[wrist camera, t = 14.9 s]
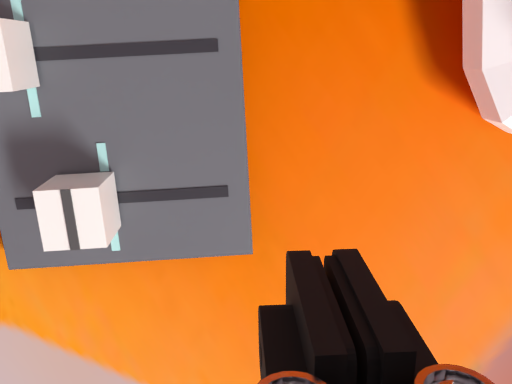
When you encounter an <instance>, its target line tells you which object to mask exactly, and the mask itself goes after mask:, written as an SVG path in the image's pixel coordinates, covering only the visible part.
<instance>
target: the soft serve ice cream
mask: <svg viewBox="0 0 512 384" xmlns="http://www.w3.org/2000/svg"><path fill="white" fill-rule="evenodd" d="M462 35H463V70H464V72H465V75H466V78H467V80H468V83H469V85H470V88H471V91H472V93H473V96H474V98H475V101H476V104H477V106H478V109H479V111H480V114H481V117H482V118H483V119H485V120H486V121H488V122H490V123H492V124H493V125H495V126H497V127H498V128H500V129H502V130H504V131H505V132H508V133H511V134H512V0H462Z"/></svg>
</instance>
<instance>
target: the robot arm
mask: <svg viewBox="0 0 512 384" xmlns="http://www.w3.org/2000/svg"><path fill="white" fill-rule="evenodd" d="M258 318H259V357H260V373H261V380H260V382H259V383H258V384H494V383H493V382H491V381H490V380H489V379H488V378H486V377H485V376H483V375H481V374H479V373H478V372H476V371H474V370H471V369H468V368H465V367H462V366H457V365H450V364H438V363H437V361H436V360H435V358H434V356H433V355H432V353H431V352H430V350H429V348H428V347H427V345H426V344H425V342H424V340H423V339H422V337H421V336H420V334H419V332H418V331H417V329H416V328H415V326H414V325H413V323H412V321H411V320H410V318H409V317H408V315H407V313H406V312H405V310H404V309H403V307H402V305H401V304H400V303H399V302H398V301H395V300H393V301H387V299H386V298H385V296H384V294H383V292H382V291H381V289H380V287H379V286H378V284H377V282H376V281H375V279H374V277H373V275H372V274H371V272H370V270H369V269H368V267H367V265H366V263H365V262H364V260H363V258H362V257H361V255H360V253H359V251H358V250H357V249H338V250H333V252H332V256H325V258H324V267H323V265H322V262H321V260H320V257H319V256H312V255H311V252H310V250H309V251H287V254H286V305H264V306H259V311H258Z"/></svg>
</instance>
